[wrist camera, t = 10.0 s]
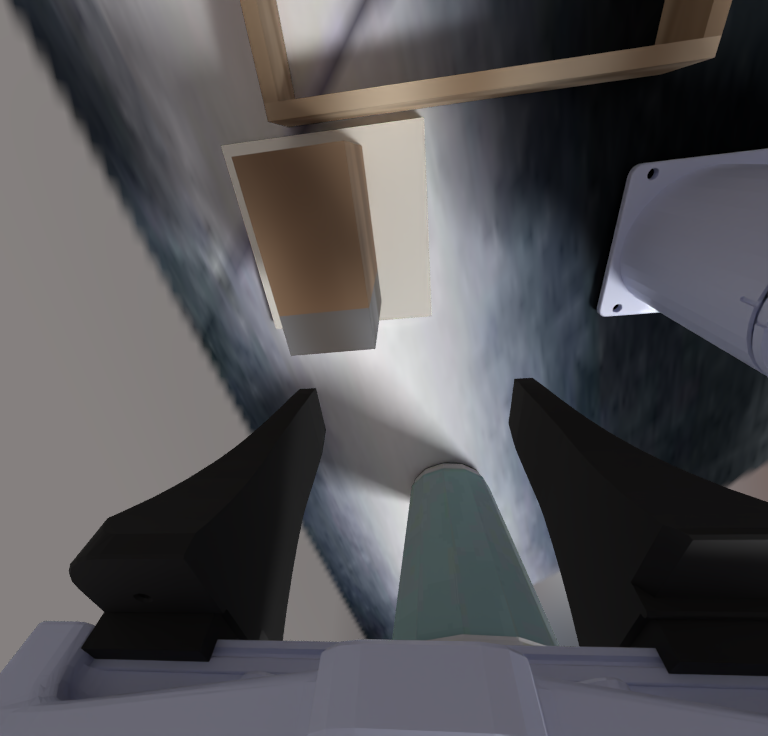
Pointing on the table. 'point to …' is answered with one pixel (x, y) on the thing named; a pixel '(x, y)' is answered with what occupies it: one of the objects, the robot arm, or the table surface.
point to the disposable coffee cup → (464, 567)
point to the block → (315, 243)
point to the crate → (671, 52)
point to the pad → (373, 208)
